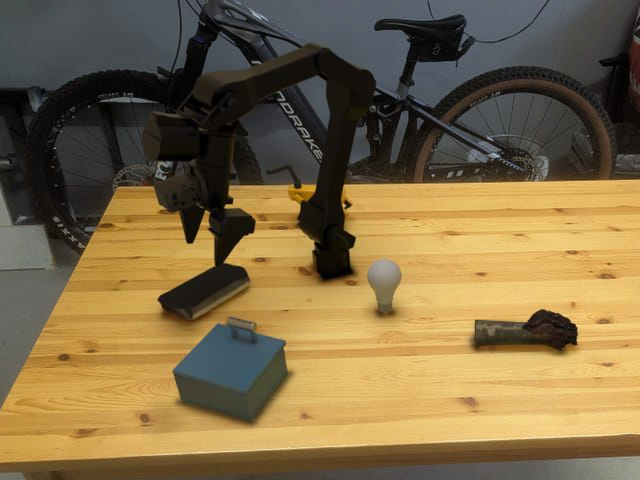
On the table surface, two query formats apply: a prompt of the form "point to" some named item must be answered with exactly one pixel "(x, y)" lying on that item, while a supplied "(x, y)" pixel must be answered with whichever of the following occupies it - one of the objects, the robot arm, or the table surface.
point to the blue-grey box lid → (230, 356)
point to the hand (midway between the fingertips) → (203, 254)
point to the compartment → (231, 400)
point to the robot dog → (305, 188)
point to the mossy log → (528, 331)
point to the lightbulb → (384, 282)
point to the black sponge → (205, 291)
